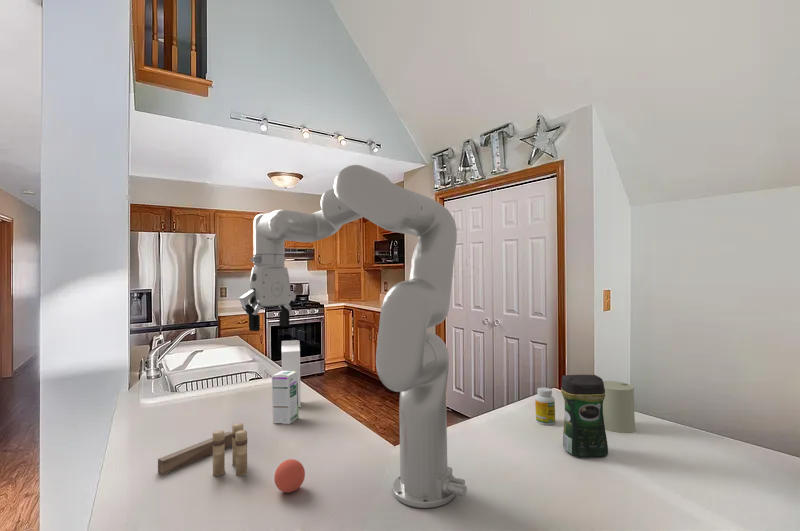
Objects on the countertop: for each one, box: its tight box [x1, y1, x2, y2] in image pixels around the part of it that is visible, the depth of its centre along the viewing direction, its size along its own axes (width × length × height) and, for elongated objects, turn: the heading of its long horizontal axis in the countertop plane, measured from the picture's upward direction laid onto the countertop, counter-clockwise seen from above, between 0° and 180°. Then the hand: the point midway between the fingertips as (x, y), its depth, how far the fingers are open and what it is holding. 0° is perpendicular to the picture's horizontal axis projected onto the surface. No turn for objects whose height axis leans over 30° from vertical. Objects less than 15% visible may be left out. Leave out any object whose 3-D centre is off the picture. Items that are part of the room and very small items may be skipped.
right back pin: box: [231, 422, 244, 467], centre depth 93 cm, size 2×2×9 cm
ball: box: [273, 458, 306, 493], centre depth 81 cm, size 6×6×6 cm
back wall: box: [157, 431, 232, 475], centre depth 97 cm, size 2×18×3 cm, turn 150°
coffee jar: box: [560, 374, 609, 459], centre depth 96 cm, size 10×8×19 cm
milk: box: [281, 339, 302, 408], centre depth 135 cm, size 6×6×22 cm
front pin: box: [235, 429, 248, 477], centre depth 89 cm, size 2×2×9 cm
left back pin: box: [212, 429, 226, 477], centre depth 89 cm, size 2×2×9 cm
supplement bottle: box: [534, 387, 556, 426], centre depth 116 cm, size 5×5×10 cm
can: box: [603, 380, 637, 434], centre depth 112 cm, size 9×9×12 cm
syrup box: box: [271, 370, 299, 425], centre depth 121 cm, size 6×6×14 cm
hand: (270, 328), depth 102 cm, fingers open, 9 cm apart
